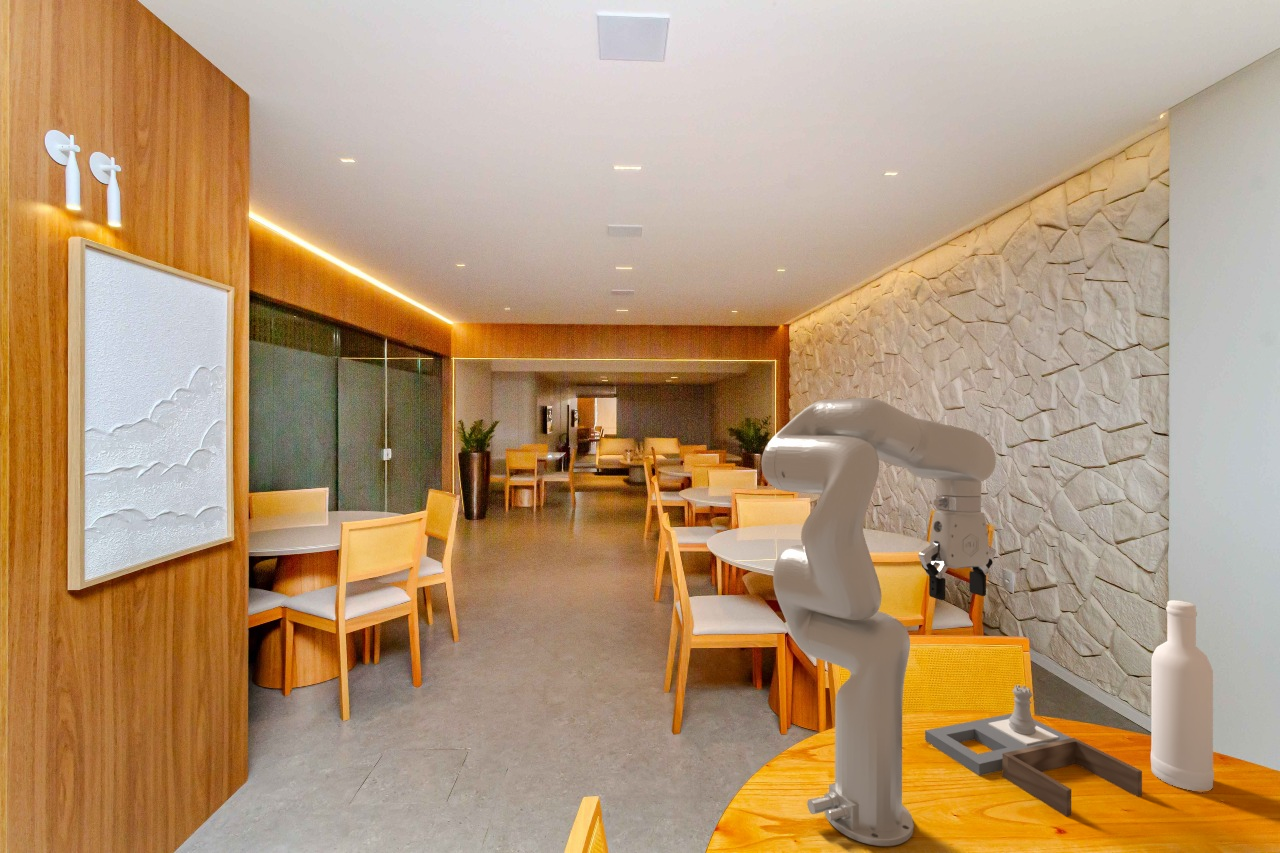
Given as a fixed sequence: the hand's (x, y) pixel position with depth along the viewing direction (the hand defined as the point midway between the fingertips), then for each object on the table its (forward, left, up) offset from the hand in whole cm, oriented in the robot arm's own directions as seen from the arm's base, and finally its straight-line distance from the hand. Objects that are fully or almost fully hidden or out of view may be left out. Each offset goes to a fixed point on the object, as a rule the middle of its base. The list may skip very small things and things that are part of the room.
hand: (957, 596), depth 112 cm
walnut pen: (+8, -16, -28) cm, 33 cm away
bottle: (+28, -20, -28) cm, 44 cm away
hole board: (+8, -2, -28) cm, 29 cm away
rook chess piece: (+13, -2, -26) cm, 29 cm away
